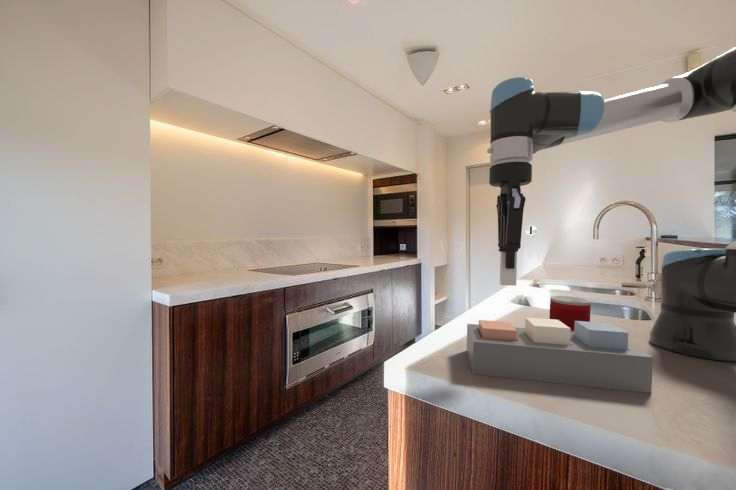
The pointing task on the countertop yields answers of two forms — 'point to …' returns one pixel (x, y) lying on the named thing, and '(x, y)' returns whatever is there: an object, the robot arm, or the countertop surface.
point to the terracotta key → (497, 330)
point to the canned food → (569, 310)
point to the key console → (559, 362)
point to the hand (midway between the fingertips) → (507, 284)
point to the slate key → (601, 335)
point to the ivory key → (547, 331)
